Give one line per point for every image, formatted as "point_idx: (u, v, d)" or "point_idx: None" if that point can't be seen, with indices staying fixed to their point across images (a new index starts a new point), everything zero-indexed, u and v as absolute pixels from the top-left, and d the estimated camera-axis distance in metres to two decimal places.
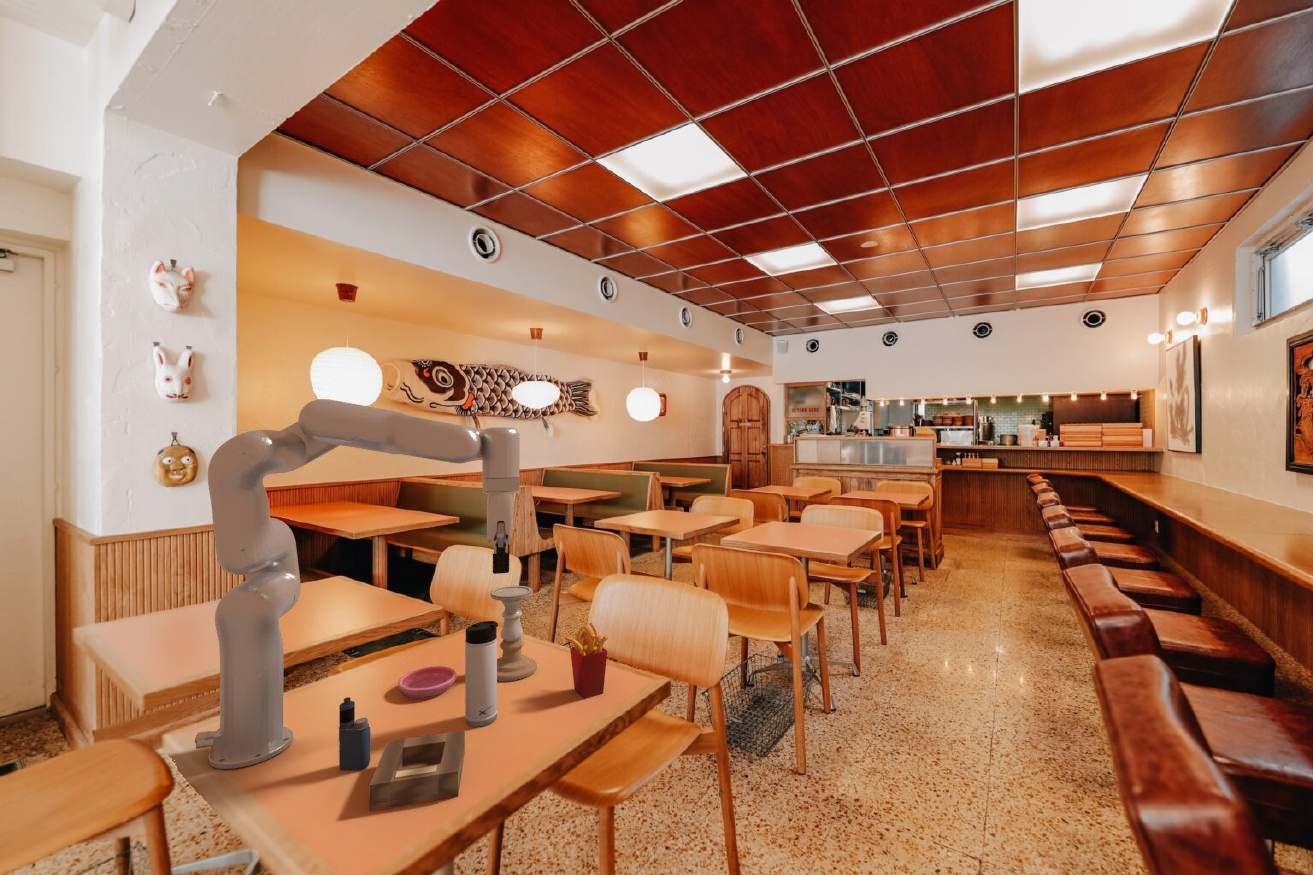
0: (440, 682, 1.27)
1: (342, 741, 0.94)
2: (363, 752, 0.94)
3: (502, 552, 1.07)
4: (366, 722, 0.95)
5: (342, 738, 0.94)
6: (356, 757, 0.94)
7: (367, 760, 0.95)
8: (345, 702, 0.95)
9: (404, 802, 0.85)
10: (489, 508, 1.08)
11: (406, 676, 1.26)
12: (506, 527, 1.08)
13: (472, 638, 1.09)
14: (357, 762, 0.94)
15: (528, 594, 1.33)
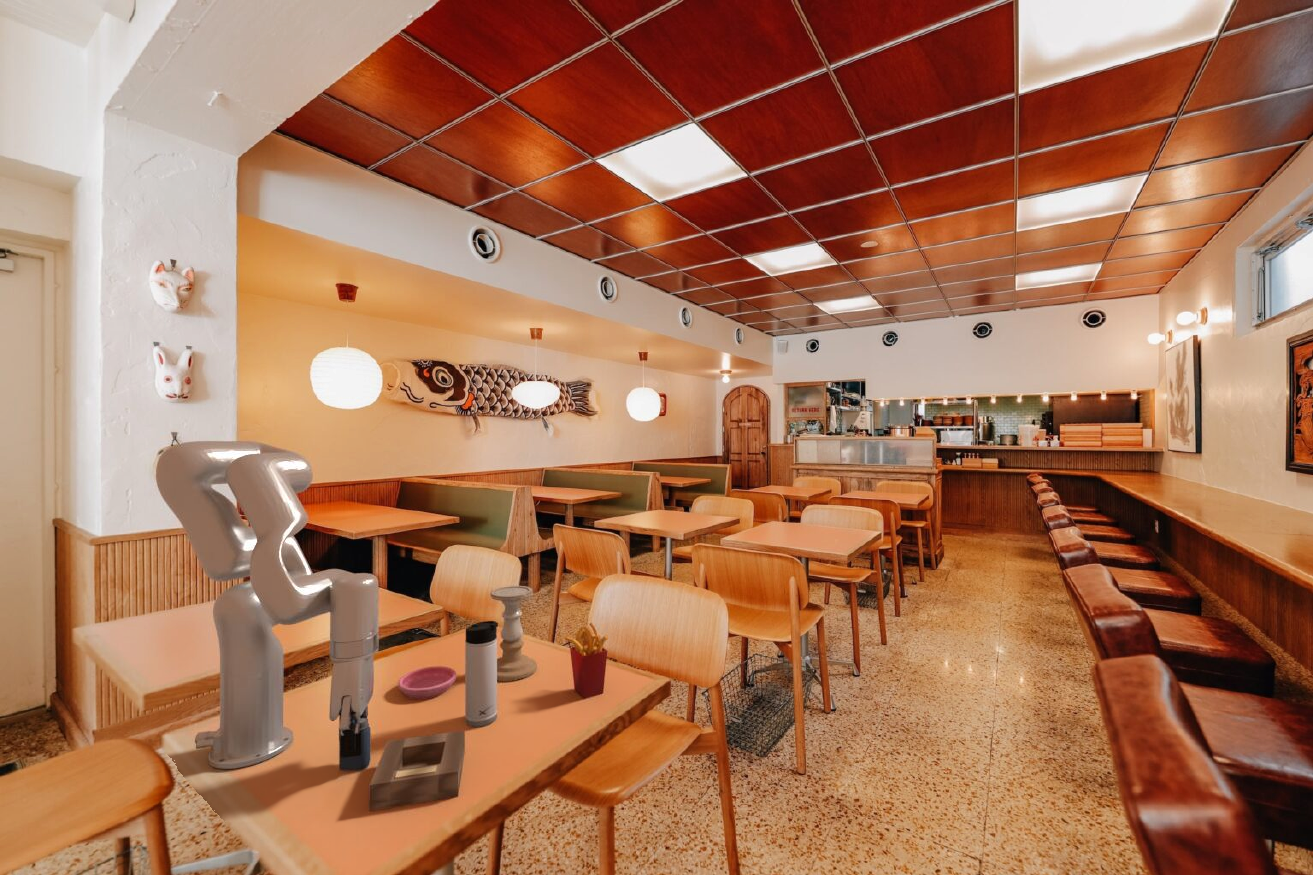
0: (440, 682, 1.27)
1: None
2: (363, 752, 0.94)
3: (351, 734, 0.92)
4: (366, 722, 0.95)
5: None
6: (356, 757, 0.94)
7: (367, 760, 0.95)
8: None
9: (404, 802, 0.85)
10: (332, 680, 0.91)
11: (406, 676, 1.26)
12: (353, 702, 0.91)
13: (472, 638, 1.09)
14: (357, 762, 0.94)
15: (528, 594, 1.33)
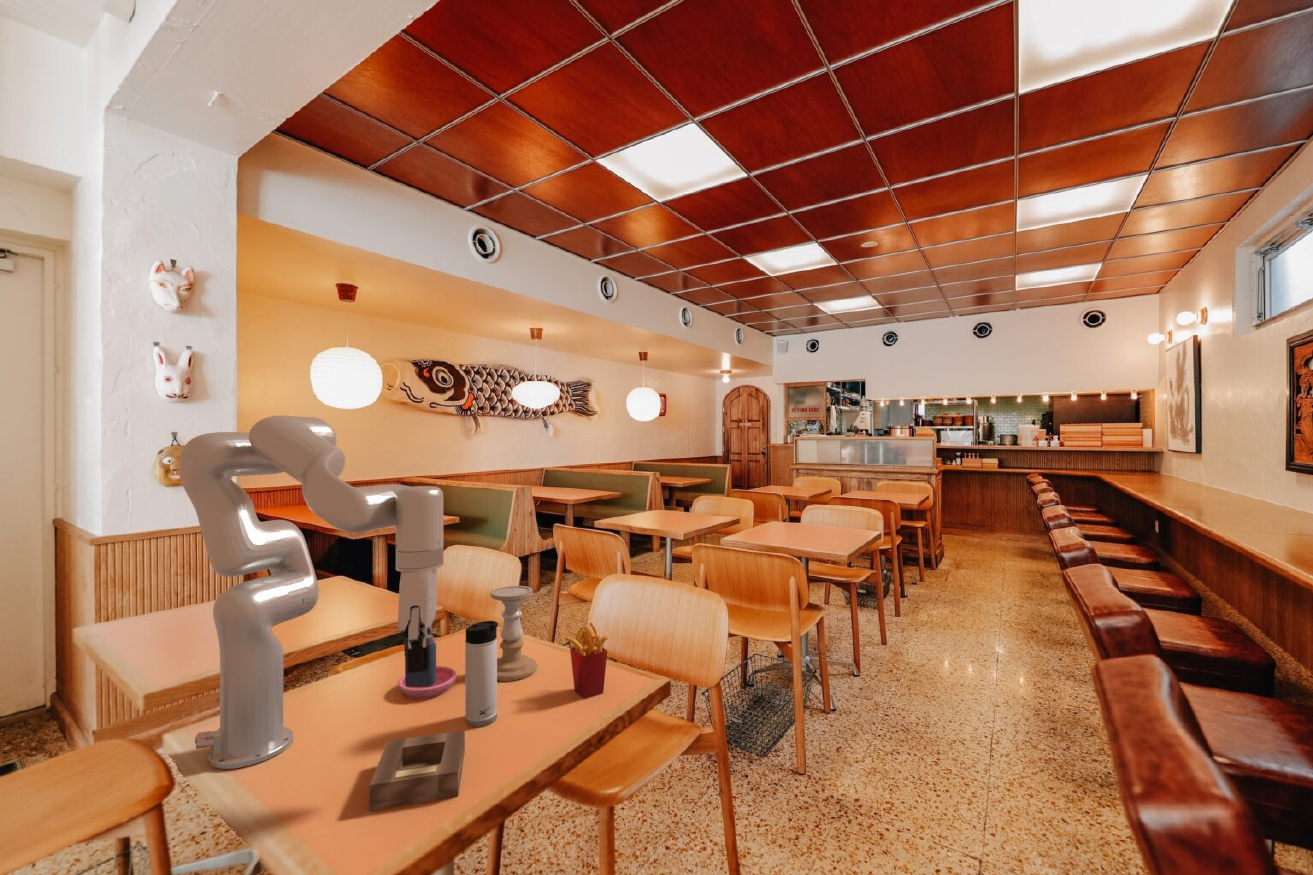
0: (440, 682, 1.27)
1: None
2: (430, 668, 0.91)
3: (418, 647, 0.89)
4: (432, 637, 0.92)
5: None
6: (423, 673, 0.91)
7: (434, 677, 0.91)
8: None
9: (404, 802, 0.85)
10: (400, 590, 0.87)
11: None
12: (422, 613, 0.87)
13: (472, 638, 1.09)
14: (424, 678, 0.91)
15: (528, 594, 1.33)
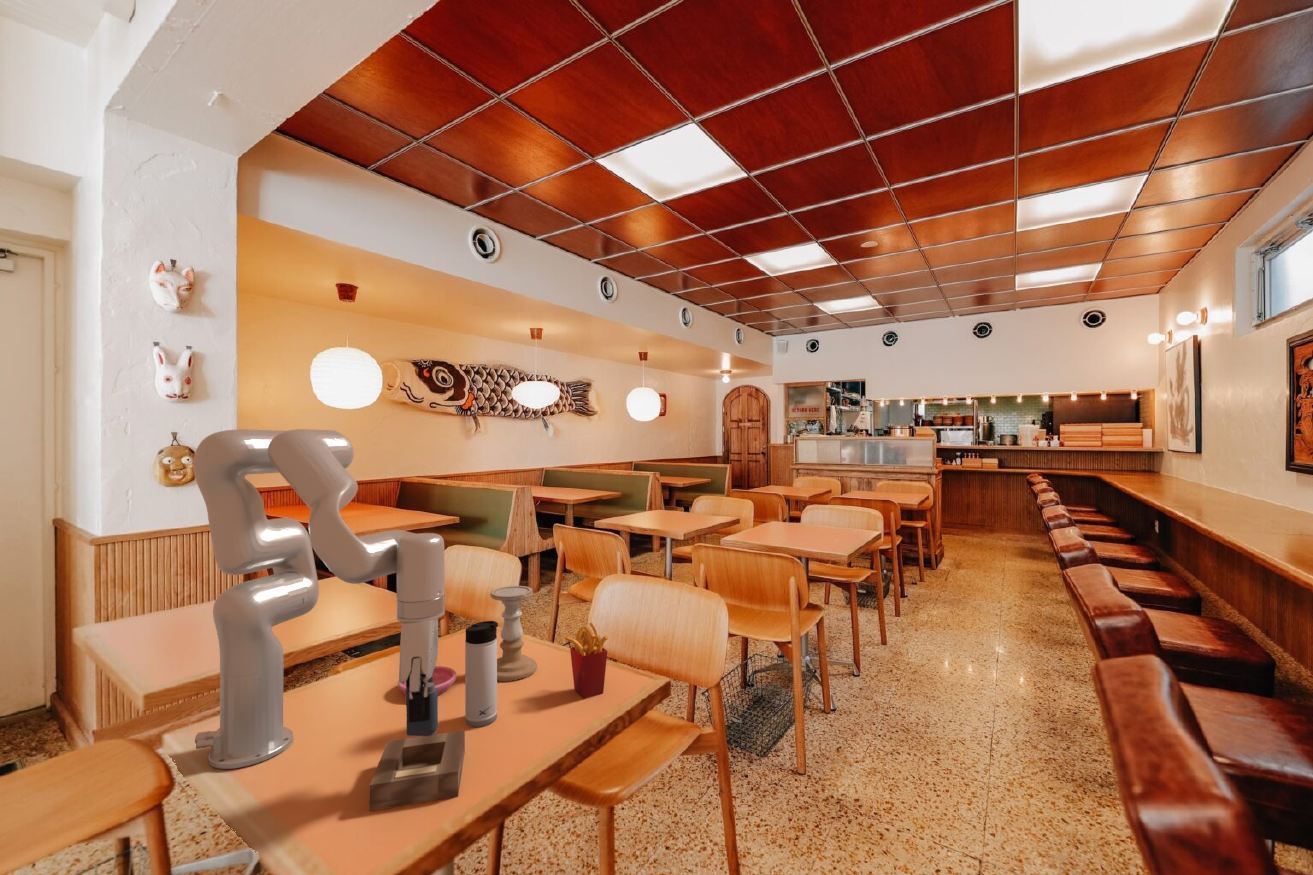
0: (440, 682, 1.27)
1: None
2: (431, 717, 0.91)
3: (420, 697, 0.89)
4: (433, 686, 0.92)
5: None
6: (424, 722, 0.90)
7: (435, 725, 0.91)
8: None
9: (404, 802, 0.85)
10: (402, 641, 0.87)
11: None
12: (423, 664, 0.87)
13: (472, 638, 1.09)
14: (425, 727, 0.90)
15: (528, 594, 1.33)
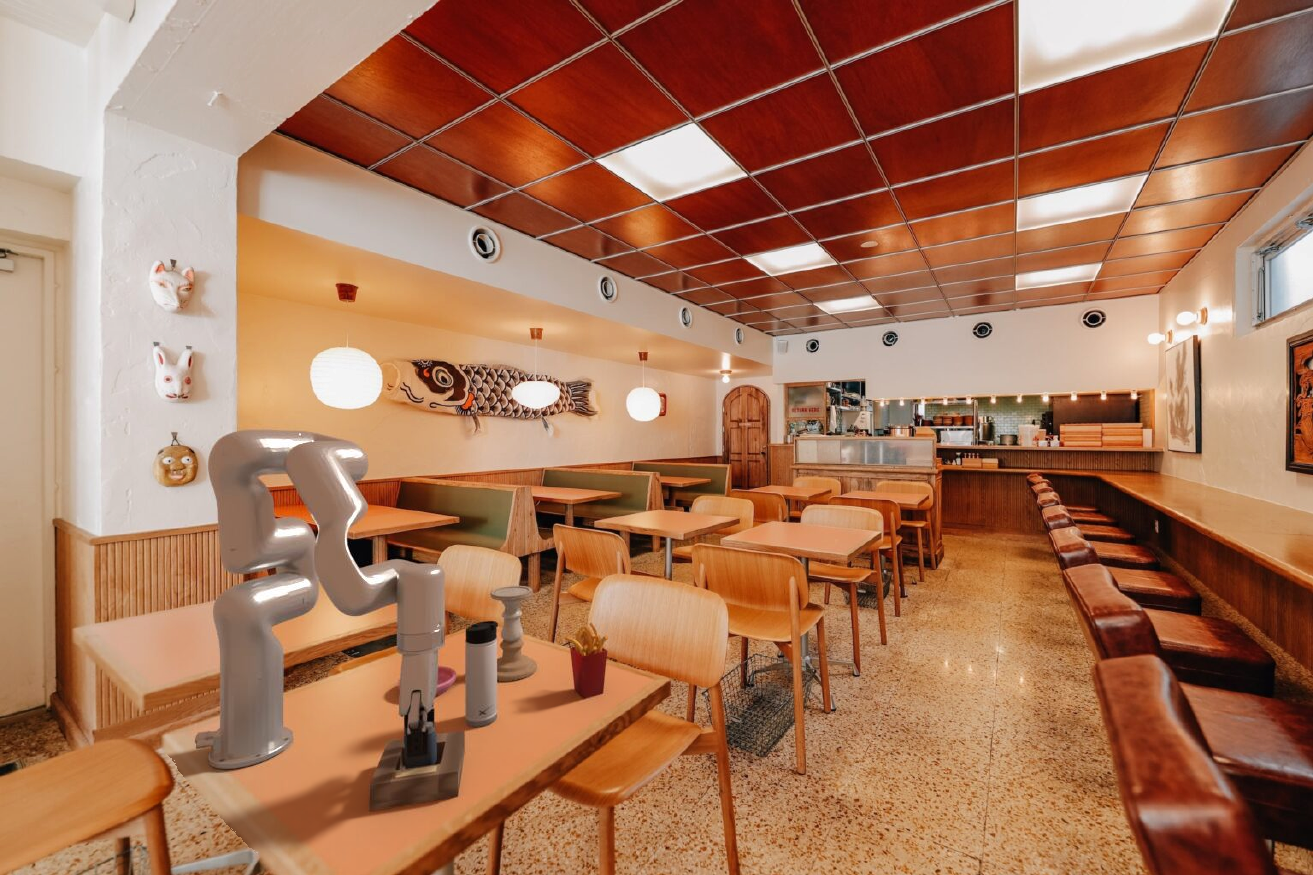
0: (440, 682, 1.27)
1: None
2: (431, 757, 0.91)
3: (418, 732, 0.87)
4: (432, 725, 0.92)
5: None
6: (424, 762, 0.90)
7: None
8: None
9: (404, 802, 0.85)
10: (401, 674, 0.87)
11: None
12: (423, 697, 0.87)
13: (472, 638, 1.09)
14: None
15: (528, 594, 1.33)
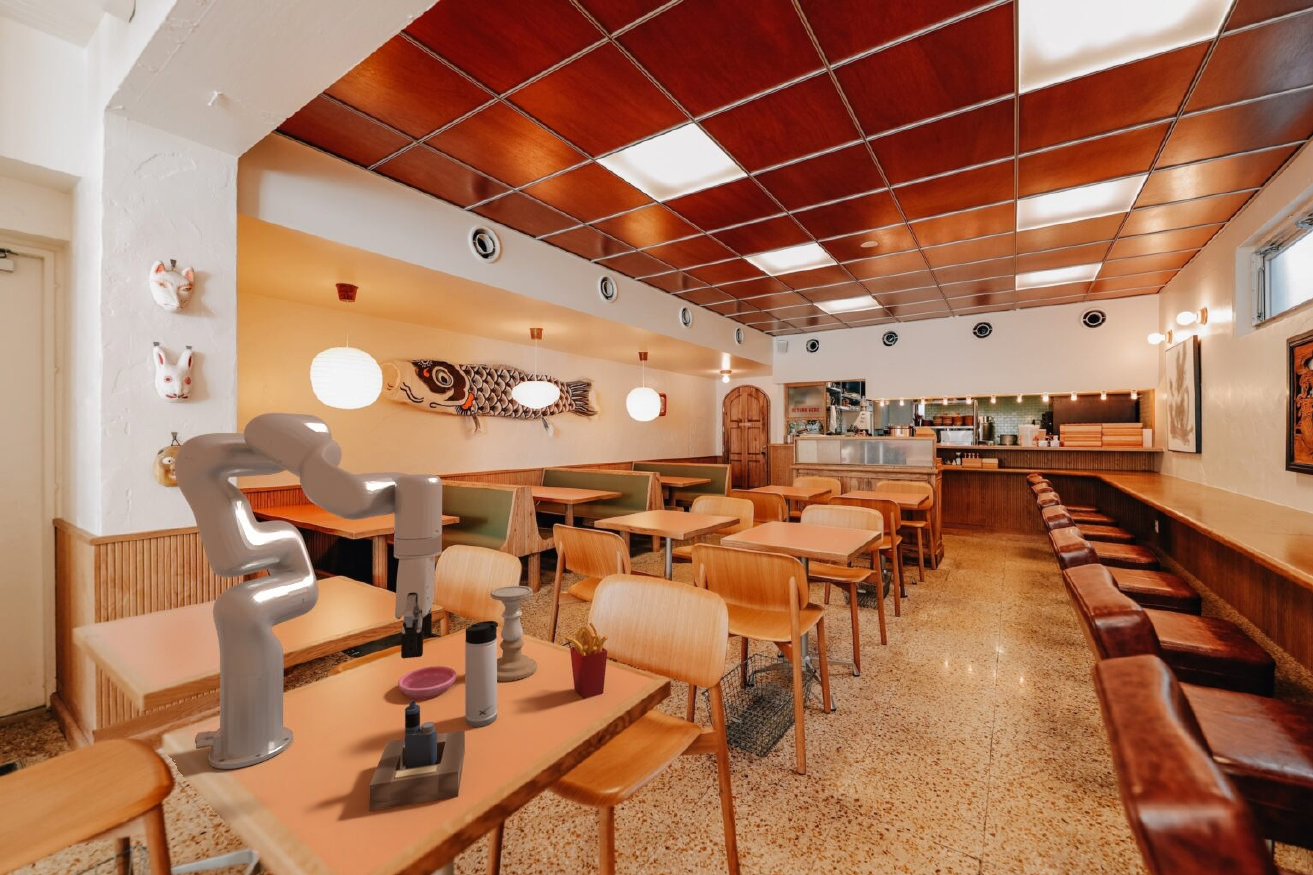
0: (440, 682, 1.27)
1: (409, 747, 0.91)
2: (431, 757, 0.91)
3: (413, 632, 0.87)
4: (433, 726, 0.92)
5: (409, 743, 0.91)
6: (424, 763, 0.91)
7: None
8: (411, 706, 0.91)
9: (404, 802, 0.85)
10: (398, 577, 0.88)
11: (406, 676, 1.26)
12: (419, 600, 0.88)
13: (472, 638, 1.09)
14: None
15: (528, 594, 1.33)
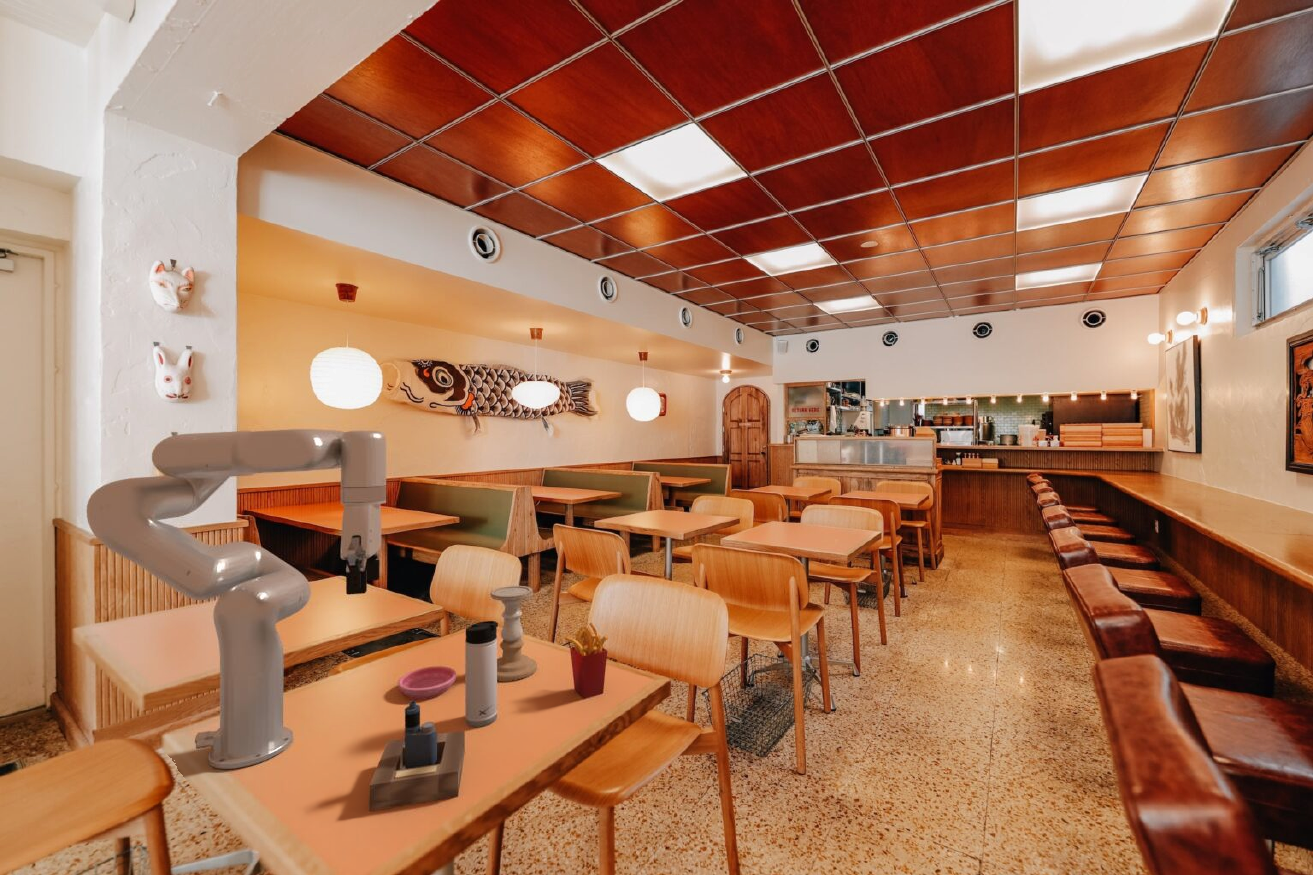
0: (440, 682, 1.27)
1: (409, 747, 0.91)
2: (431, 757, 0.91)
3: (356, 570, 0.96)
4: (433, 726, 0.92)
5: (409, 743, 0.91)
6: (424, 763, 0.91)
7: None
8: (411, 706, 0.91)
9: (404, 802, 0.85)
10: (343, 521, 0.97)
11: (406, 676, 1.26)
12: (363, 542, 0.97)
13: (472, 638, 1.09)
14: None
15: (528, 594, 1.33)
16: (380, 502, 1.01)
